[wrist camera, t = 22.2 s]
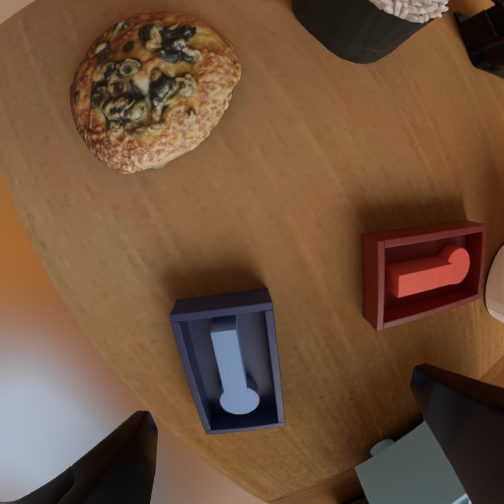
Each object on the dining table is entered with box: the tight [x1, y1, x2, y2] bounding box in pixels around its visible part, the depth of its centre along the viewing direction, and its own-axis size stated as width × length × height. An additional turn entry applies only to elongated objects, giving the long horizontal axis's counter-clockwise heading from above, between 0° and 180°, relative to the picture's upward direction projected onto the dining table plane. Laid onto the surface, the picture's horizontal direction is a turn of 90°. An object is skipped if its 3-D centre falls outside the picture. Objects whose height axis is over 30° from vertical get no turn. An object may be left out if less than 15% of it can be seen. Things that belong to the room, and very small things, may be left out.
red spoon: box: [385, 245, 470, 298], centre depth 17 cm, size 8×3×2 cm, turn 97°
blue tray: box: [170, 288, 285, 434], centre depth 18 cm, size 10×6×2 cm, turn 7°
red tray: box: [362, 221, 486, 331], centre depth 18 cm, size 10×6×2 cm, turn 97°
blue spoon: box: [210, 315, 259, 414], centre depth 18 cm, size 8×3×2 cm, turn 7°
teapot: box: [354, 417, 471, 504], centre depth 17 cm, size 22×11×14 cm, turn 127°
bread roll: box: [70, 11, 241, 174], centre depth 14 cm, size 11×11×5 cm
